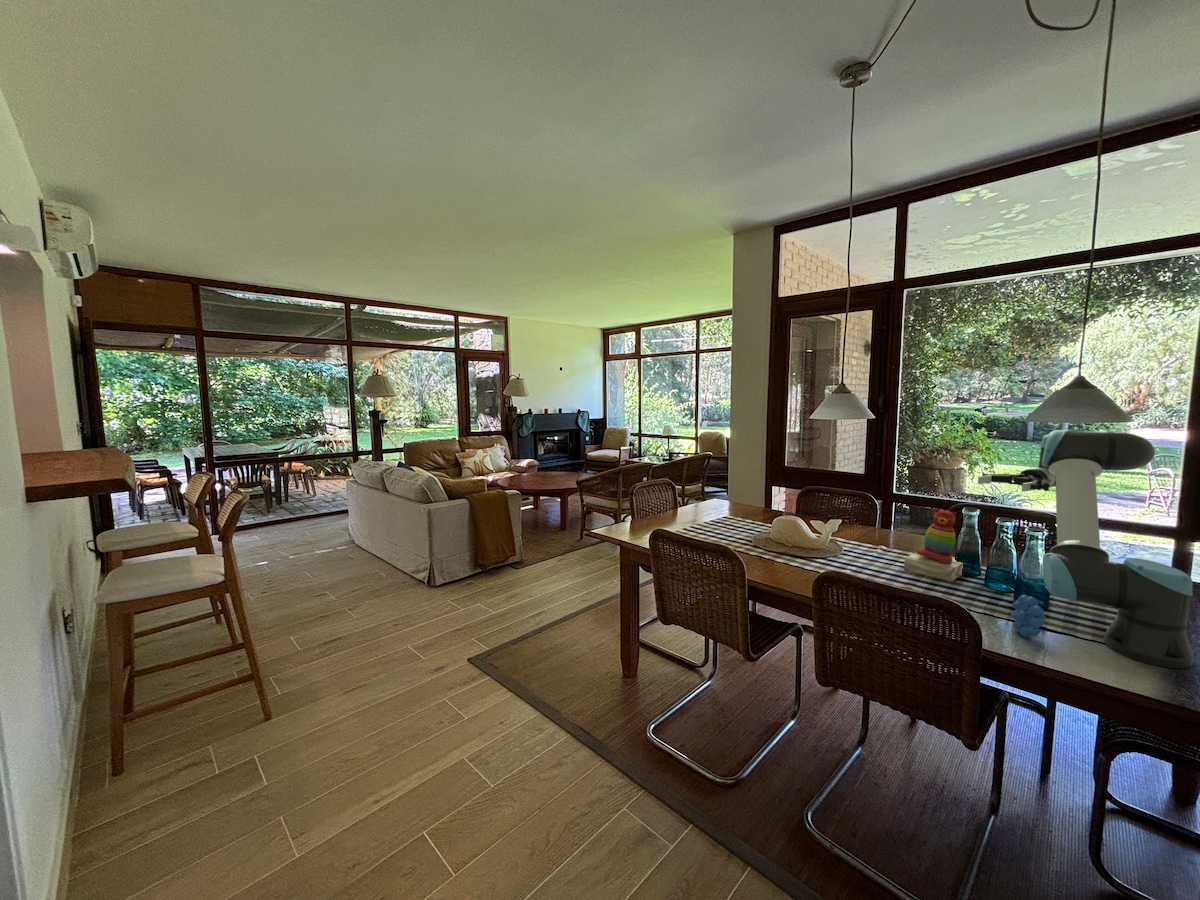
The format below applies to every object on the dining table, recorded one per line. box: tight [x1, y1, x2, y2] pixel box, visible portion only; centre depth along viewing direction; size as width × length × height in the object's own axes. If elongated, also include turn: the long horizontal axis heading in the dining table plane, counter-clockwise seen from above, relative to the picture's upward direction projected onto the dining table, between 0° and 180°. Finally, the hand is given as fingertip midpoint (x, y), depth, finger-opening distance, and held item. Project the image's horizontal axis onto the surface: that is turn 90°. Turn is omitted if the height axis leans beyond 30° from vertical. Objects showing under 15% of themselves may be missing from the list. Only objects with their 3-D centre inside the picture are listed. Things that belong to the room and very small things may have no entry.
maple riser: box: [903, 551, 963, 582], centre depth 181 cm, size 15×15×5 cm
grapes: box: [1010, 594, 1047, 638], centre depth 133 cm, size 12×7×12 cm, turn 165°
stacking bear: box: [916, 508, 957, 563], centre depth 180 cm, size 11×10×18 cm
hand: (1000, 483), depth 171 cm, fingers open, 13 cm apart
